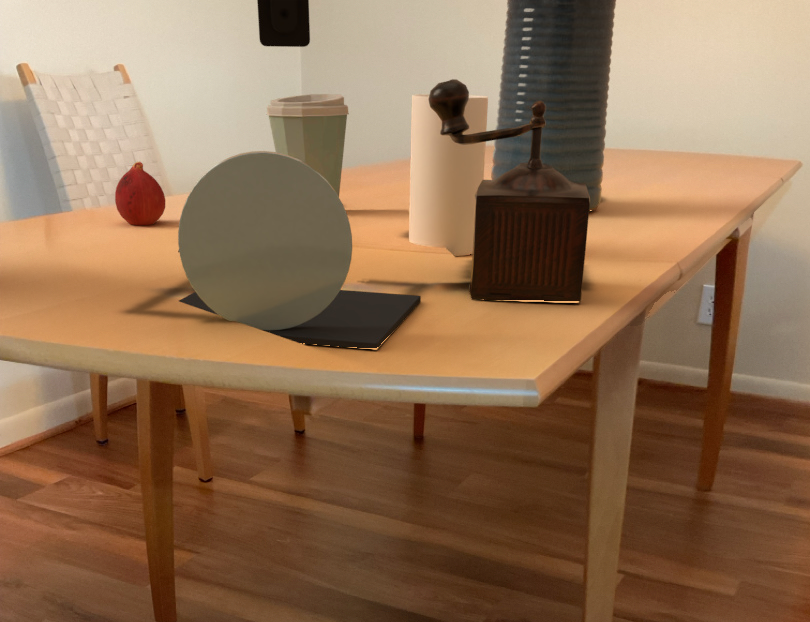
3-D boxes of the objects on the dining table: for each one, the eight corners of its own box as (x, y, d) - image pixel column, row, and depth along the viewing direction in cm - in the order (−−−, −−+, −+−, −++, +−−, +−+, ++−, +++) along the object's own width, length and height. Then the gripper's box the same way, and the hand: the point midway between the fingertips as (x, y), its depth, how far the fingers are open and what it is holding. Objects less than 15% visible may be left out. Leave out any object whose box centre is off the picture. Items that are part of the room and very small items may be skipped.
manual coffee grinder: (577, 279, 93) (597, 81, 85) (582, 305, 83) (606, 85, 75) (425, 272, 95) (430, 78, 86) (413, 298, 85) (418, 81, 76)
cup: (453, 259, 101) (460, 98, 93) (394, 249, 105) (396, 95, 98) (493, 248, 107) (502, 96, 99) (435, 240, 111) (440, 93, 103)
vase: (622, 209, 135) (653, -43, 120) (551, 220, 125) (575, -53, 111) (537, 196, 146) (556, -37, 131) (465, 205, 136) (477, -46, 121)
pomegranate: (133, 237, 109) (124, 165, 105) (110, 230, 112) (101, 160, 109) (176, 232, 112) (170, 162, 108) (153, 226, 116) (146, 158, 112)
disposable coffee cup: (318, 226, 118) (315, 97, 110) (254, 218, 123) (247, 94, 115) (365, 216, 125) (365, 95, 118) (303, 208, 130) (299, 92, 123)
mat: (136, 330, 74) (135, 323, 73) (216, 287, 87) (215, 280, 87) (377, 351, 70) (377, 343, 69) (420, 302, 84) (420, 295, 83)
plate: (369, 308, 72) (328, 133, 66) (209, 348, 72) (153, 177, 65) (367, 304, 73) (327, 131, 67) (210, 344, 73) (154, 174, 66)
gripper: (204, -288, 57) (227, 46, 66) (193, -388, 44) (225, 45, 53) (324, -280, 58) (332, 47, 67) (348, -376, 45) (354, 46, 54)
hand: (284, 45), depth 60 cm, fingers closed
